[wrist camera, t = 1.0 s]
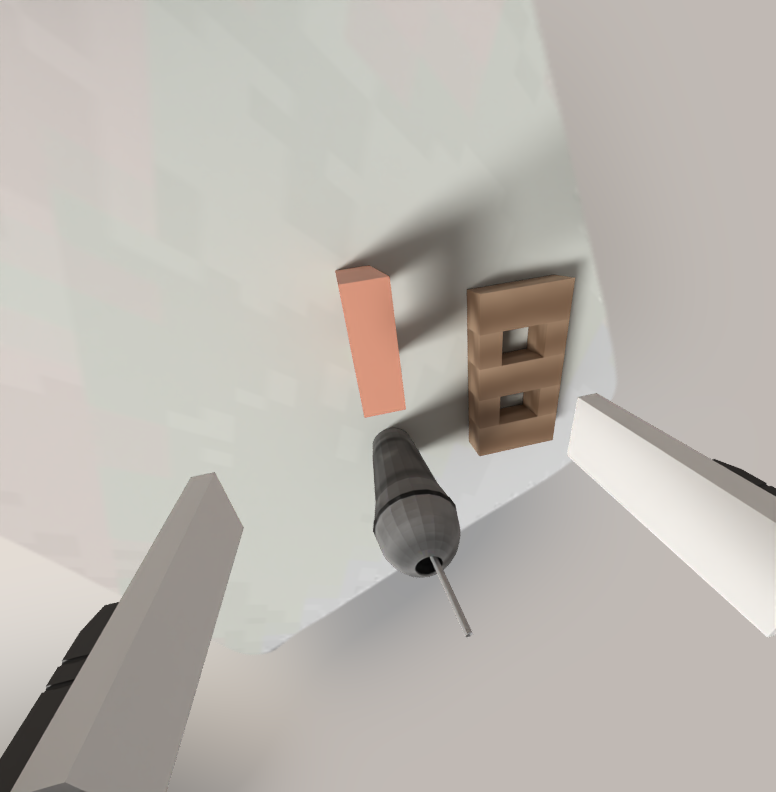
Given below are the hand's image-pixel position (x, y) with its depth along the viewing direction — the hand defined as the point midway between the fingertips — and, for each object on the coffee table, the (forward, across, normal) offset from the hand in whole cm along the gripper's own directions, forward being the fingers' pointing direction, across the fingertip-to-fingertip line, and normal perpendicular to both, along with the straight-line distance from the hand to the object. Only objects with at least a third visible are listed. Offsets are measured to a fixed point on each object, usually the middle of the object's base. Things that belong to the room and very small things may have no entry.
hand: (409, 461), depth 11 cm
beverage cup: (+20, +1, -14) cm, 25 cm away
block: (+20, 0, 0) cm, 21 cm away
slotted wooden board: (+20, +15, -7) cm, 27 cm away
